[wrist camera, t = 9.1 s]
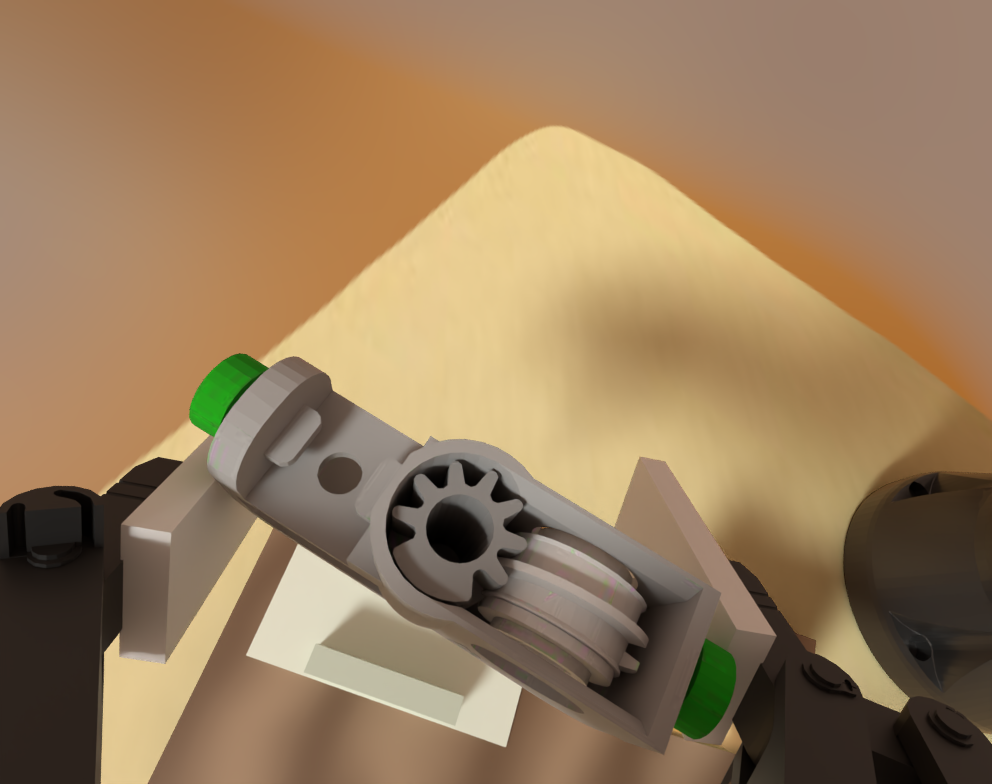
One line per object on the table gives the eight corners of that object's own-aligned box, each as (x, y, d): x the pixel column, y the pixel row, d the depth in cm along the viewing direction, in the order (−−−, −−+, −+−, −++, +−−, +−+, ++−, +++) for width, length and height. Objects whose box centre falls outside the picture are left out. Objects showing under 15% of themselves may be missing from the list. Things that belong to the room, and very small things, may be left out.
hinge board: (798, 640, 34) (1005, 638, 23) (770, 994, 27) (1045, 1237, 16) (312, 461, 33) (280, 366, 22) (156, 783, 26) (-10, 885, 15)
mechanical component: (319, 467, 20) (265, 305, 11) (585, 633, 19) (767, 610, 10) (260, 544, 18) (141, 433, 9) (543, 725, 18) (708, 796, 9)
